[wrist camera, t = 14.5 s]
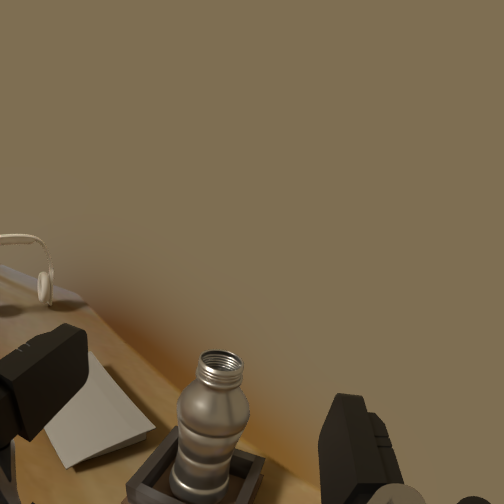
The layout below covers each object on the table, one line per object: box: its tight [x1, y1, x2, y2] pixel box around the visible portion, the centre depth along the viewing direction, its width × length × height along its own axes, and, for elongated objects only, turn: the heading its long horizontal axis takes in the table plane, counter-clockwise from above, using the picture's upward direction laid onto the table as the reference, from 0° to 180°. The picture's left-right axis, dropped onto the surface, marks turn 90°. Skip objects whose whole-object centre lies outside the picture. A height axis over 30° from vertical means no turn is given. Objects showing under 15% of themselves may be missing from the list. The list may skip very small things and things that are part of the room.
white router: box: [44, 352, 156, 470], centre depth 39 cm, size 15×23×4 cm, turn 49°
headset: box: [0, 234, 54, 306], centre depth 57 cm, size 20×7×18 cm, turn 137°
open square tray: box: [121, 426, 265, 504], centre depth 29 cm, size 13×13×5 cm
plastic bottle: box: [169, 349, 250, 504], centre depth 28 cm, size 6×7×20 cm
